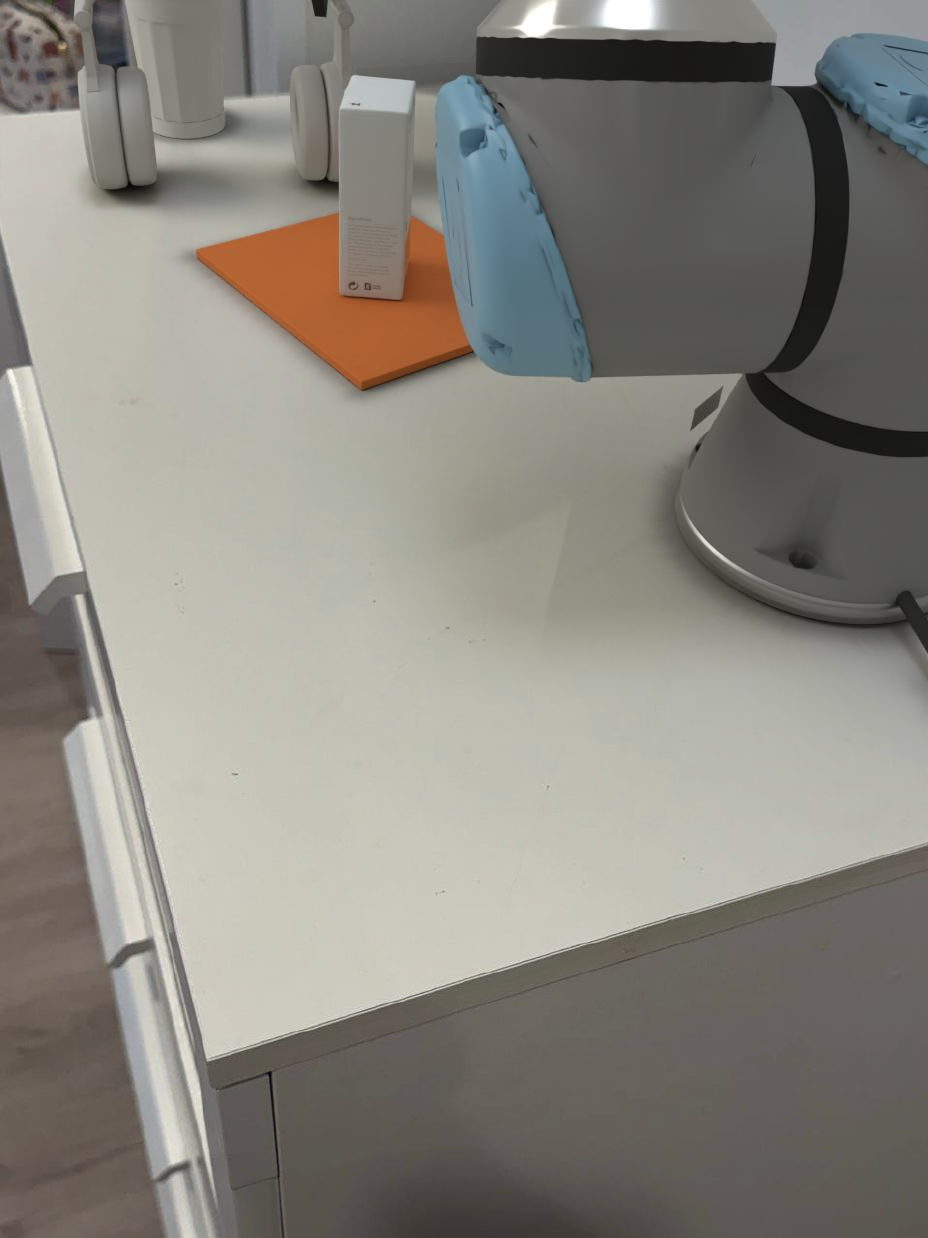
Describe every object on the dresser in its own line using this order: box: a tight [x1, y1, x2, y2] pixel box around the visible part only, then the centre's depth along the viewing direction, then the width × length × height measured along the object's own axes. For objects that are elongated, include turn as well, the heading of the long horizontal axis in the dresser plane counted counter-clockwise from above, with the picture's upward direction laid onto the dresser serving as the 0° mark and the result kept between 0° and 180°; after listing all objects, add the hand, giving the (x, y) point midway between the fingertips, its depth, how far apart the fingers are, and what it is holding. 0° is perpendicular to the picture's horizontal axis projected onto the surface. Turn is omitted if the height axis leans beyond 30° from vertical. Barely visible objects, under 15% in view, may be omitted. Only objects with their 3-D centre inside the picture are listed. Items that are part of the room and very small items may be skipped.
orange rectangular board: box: [195, 212, 474, 391], centre depth 79 cm, size 20×16×1 cm
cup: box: [124, 0, 226, 140], centre depth 94 cm, size 8×8×12 cm
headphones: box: [73, 0, 358, 190], centre depth 83 cm, size 20×8×19 cm, turn 103°
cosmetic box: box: [338, 74, 417, 300], centre depth 75 cm, size 6×4×12 cm
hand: (425, 14), depth 74 cm, fingers open, 13 cm apart
